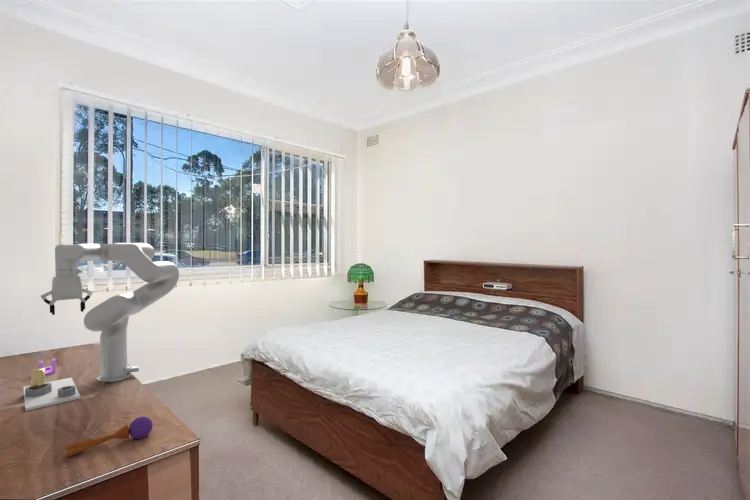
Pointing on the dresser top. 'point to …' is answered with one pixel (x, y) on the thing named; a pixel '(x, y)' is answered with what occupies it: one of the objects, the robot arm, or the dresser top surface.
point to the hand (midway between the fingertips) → (68, 312)
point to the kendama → (114, 435)
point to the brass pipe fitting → (37, 378)
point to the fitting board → (50, 394)
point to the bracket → (49, 367)
